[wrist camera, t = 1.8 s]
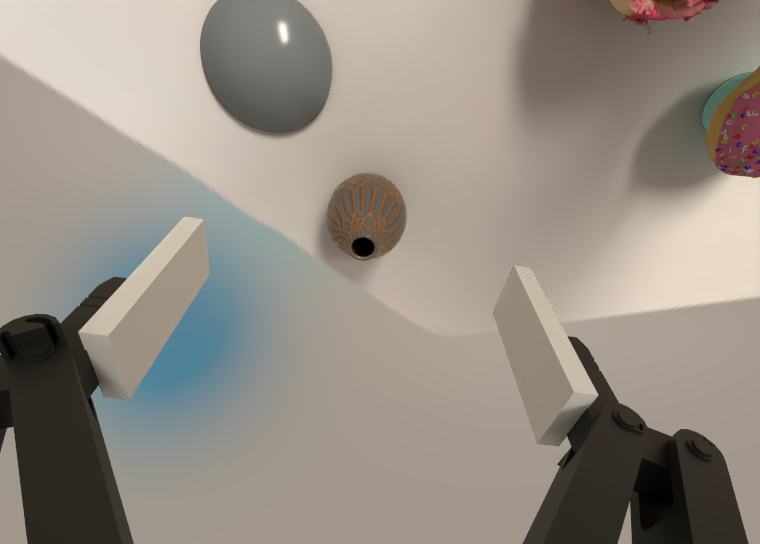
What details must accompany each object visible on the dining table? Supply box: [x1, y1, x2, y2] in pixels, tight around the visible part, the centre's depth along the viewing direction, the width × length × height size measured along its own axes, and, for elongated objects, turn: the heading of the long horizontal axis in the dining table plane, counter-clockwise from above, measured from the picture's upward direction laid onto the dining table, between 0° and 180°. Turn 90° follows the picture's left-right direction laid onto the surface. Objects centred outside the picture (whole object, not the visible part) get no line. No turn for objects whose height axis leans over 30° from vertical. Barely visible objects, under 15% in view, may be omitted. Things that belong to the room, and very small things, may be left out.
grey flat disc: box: [200, 0, 332, 132], centre depth 30 cm, size 10×10×1 cm
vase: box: [327, 173, 406, 260], centre depth 33 cm, size 7×7×9 cm
